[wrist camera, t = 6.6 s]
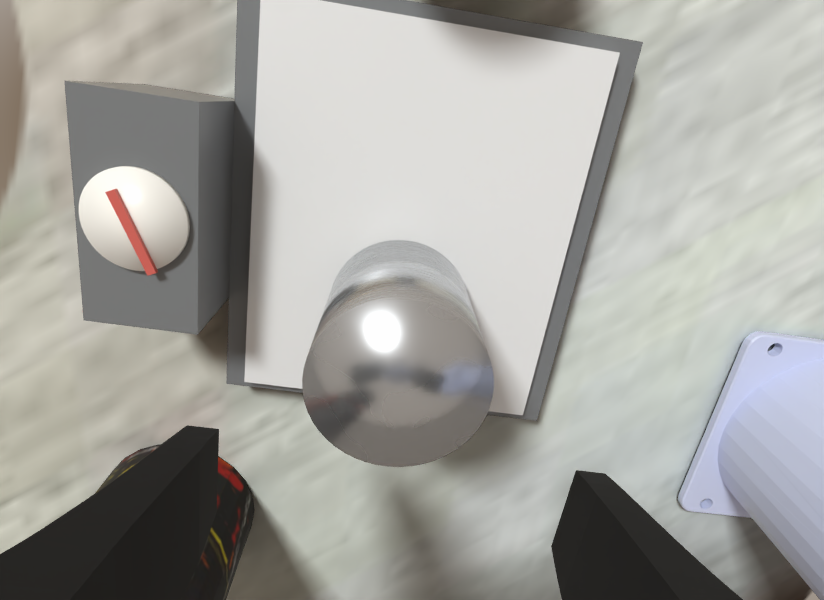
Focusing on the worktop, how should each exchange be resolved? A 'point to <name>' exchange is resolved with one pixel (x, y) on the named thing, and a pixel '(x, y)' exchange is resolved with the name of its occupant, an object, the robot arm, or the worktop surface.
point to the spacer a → (398, 358)
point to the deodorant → (214, 530)
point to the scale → (352, 178)
